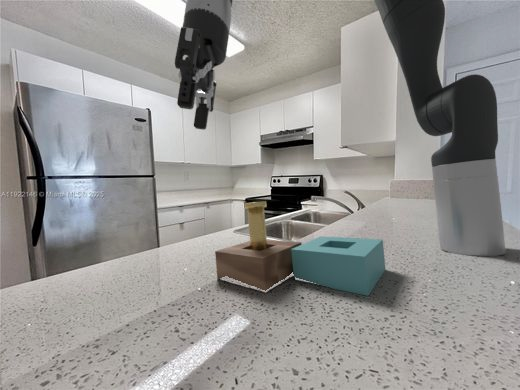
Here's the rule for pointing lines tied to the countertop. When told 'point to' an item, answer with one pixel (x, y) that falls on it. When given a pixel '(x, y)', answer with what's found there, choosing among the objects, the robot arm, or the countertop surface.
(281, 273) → the block
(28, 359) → the countertop surface
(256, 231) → the brass pin
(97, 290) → the countertop surface
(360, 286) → the socket block
